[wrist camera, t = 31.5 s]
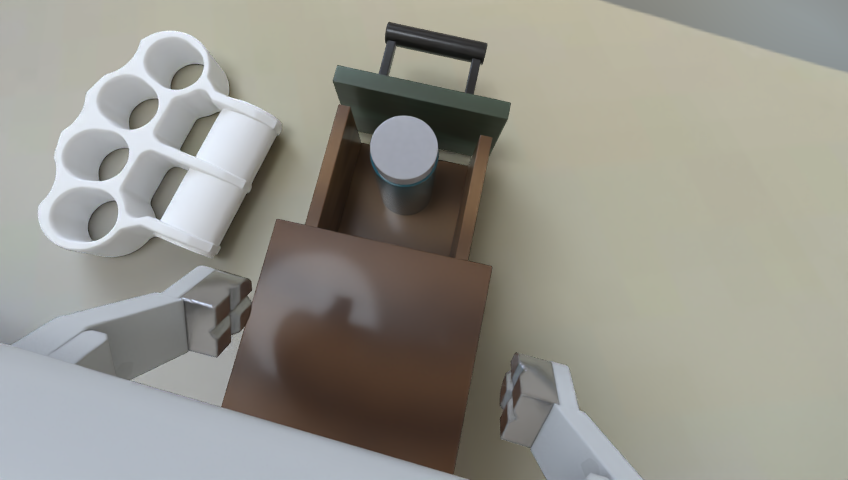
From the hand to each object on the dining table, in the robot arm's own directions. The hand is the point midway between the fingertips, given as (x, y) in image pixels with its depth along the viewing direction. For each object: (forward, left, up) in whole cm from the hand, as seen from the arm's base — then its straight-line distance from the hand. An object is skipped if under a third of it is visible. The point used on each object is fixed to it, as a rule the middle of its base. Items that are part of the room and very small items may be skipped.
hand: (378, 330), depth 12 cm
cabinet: (+2, +5, -19) cm, 19 cm away
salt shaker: (+2, -9, -17) cm, 19 cm away
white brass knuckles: (+20, -8, -19) cm, 29 cm away
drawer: (+2, -9, -18) cm, 20 cm away
